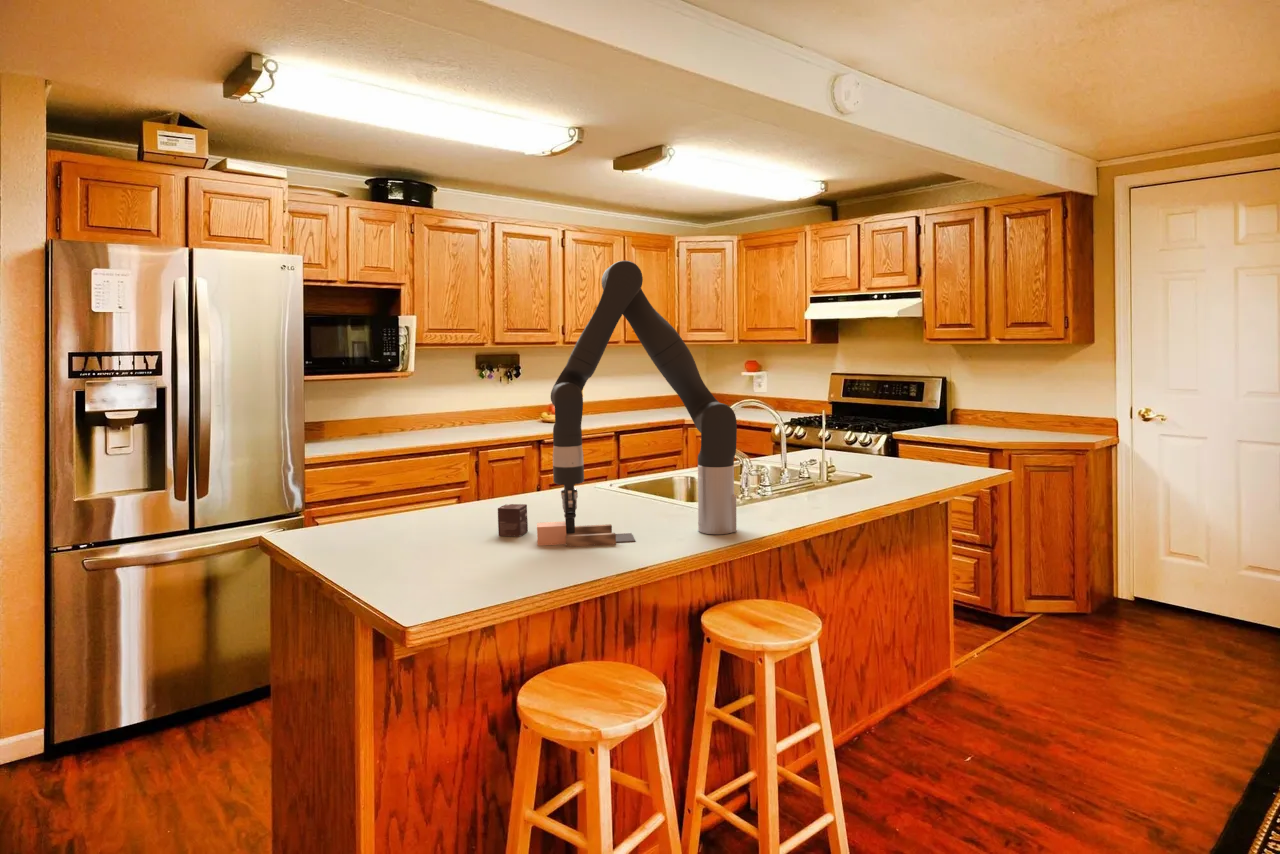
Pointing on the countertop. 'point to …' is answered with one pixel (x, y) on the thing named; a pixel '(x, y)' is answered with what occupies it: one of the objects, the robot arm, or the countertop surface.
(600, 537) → the brown wooden channel
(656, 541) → the countertop surface
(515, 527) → the box
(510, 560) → the countertop surface
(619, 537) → the mat
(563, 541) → the block
